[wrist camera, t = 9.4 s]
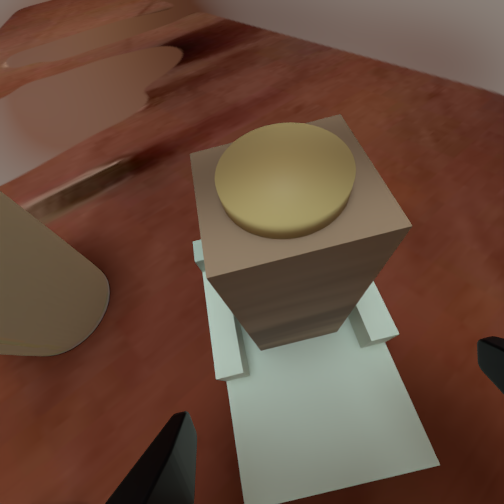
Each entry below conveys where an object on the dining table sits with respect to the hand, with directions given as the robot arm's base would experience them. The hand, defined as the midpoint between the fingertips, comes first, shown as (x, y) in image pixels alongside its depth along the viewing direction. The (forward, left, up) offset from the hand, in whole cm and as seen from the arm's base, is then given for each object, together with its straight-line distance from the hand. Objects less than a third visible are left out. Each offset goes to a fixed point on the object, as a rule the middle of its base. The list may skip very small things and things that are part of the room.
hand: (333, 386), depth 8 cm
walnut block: (+5, 0, -8) cm, 10 cm away
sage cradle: (+3, 0, -9) cm, 10 cm away
